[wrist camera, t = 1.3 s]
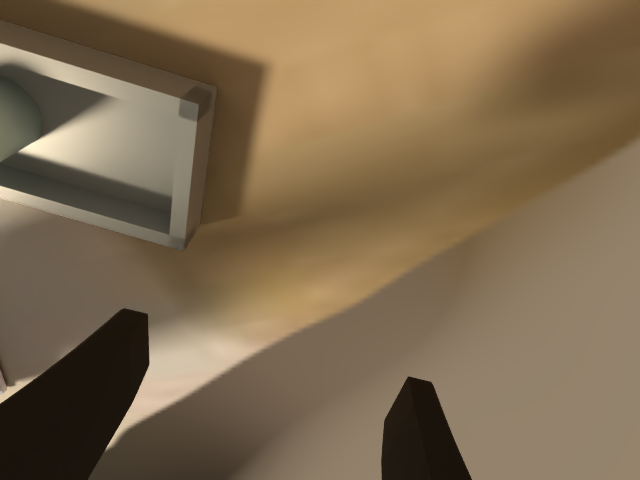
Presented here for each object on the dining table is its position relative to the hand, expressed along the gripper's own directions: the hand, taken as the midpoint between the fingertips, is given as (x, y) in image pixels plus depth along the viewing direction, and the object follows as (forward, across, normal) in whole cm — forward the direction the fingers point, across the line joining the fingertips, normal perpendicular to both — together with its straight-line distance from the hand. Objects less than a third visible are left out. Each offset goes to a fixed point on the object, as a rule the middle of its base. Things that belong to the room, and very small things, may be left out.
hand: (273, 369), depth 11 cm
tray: (+10, +13, 0) cm, 17 cm away
